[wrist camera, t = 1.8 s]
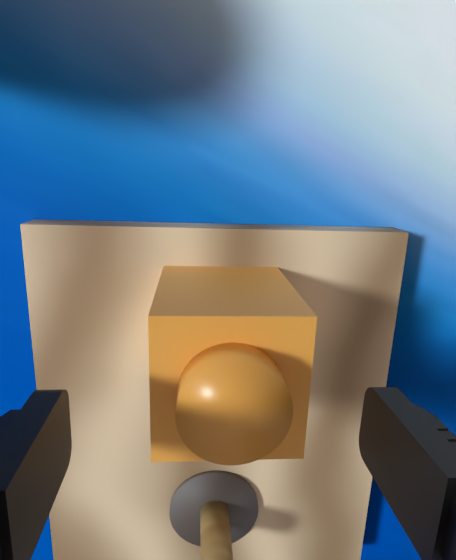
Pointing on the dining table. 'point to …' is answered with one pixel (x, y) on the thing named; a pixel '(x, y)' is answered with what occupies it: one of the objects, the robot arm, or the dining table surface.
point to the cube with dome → (228, 365)
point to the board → (136, 395)
